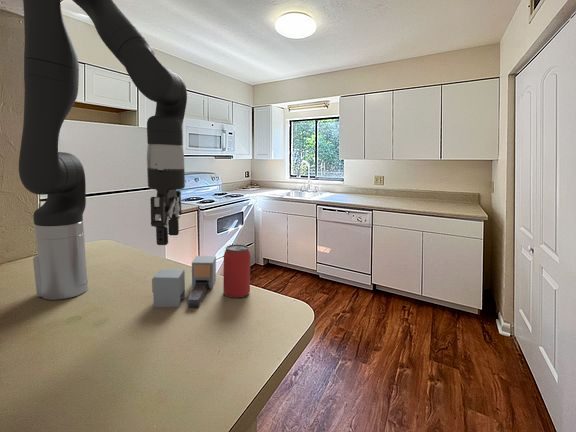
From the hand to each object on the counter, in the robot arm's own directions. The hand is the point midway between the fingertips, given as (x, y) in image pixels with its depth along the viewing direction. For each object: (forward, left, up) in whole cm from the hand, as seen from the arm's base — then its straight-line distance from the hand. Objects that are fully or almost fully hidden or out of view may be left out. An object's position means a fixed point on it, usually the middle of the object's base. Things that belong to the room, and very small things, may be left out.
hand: (168, 239), depth 71 cm
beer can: (+15, +5, -15) cm, 22 cm away
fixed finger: (+6, +11, -15) cm, 19 cm away
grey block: (0, 0, -15) cm, 15 cm away
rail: (+6, +5, -15) cm, 17 cm away
